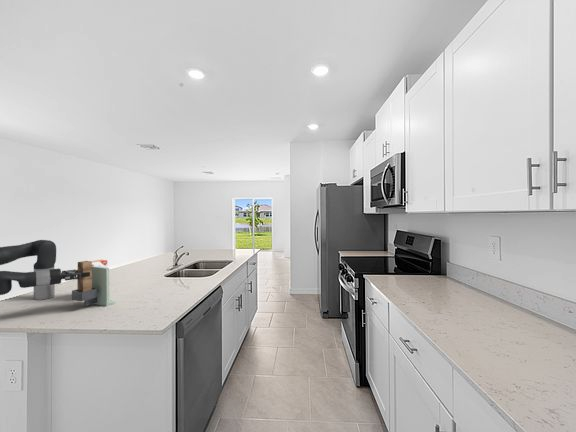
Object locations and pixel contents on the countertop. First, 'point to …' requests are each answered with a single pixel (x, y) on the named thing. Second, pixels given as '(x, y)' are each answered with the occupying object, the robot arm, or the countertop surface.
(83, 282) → the walnut rail
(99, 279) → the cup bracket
